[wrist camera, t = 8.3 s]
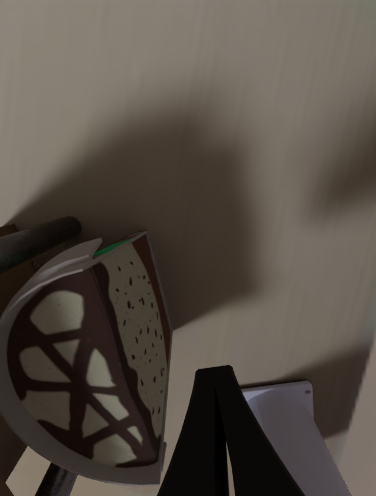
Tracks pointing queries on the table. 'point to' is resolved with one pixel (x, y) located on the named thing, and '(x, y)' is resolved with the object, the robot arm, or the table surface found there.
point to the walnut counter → (3, 290)
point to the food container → (91, 362)
